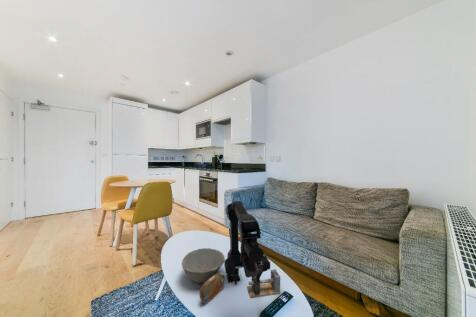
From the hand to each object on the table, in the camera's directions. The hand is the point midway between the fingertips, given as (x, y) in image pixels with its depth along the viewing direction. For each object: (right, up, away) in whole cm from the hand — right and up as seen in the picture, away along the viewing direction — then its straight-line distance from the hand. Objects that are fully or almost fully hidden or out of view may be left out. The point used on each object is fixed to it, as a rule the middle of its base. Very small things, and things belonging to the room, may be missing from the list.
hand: (246, 283), depth 78 cm
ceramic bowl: (-23, -12, +23) cm, 35 cm away
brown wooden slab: (-16, -13, +10) cm, 23 cm away
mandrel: (+9, -13, +14) cm, 21 cm away
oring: (+5, -12, +13) cm, 18 cm away
